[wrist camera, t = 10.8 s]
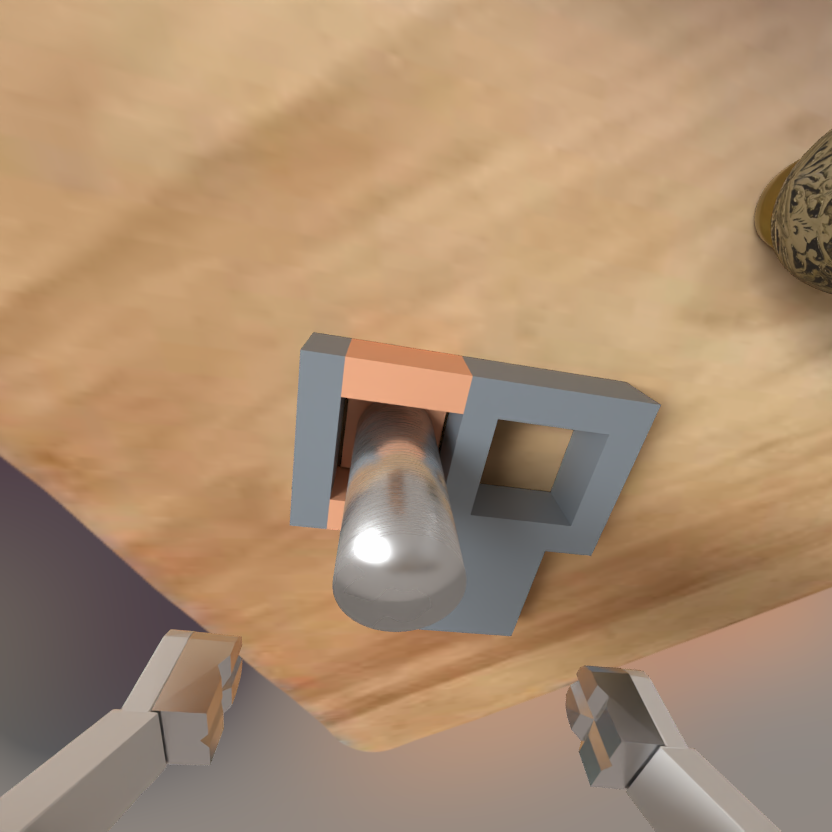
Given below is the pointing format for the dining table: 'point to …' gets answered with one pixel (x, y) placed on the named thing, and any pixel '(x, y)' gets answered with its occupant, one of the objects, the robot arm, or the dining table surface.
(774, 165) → the dining table surface
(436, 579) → the peg
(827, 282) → the cup
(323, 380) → the rack
